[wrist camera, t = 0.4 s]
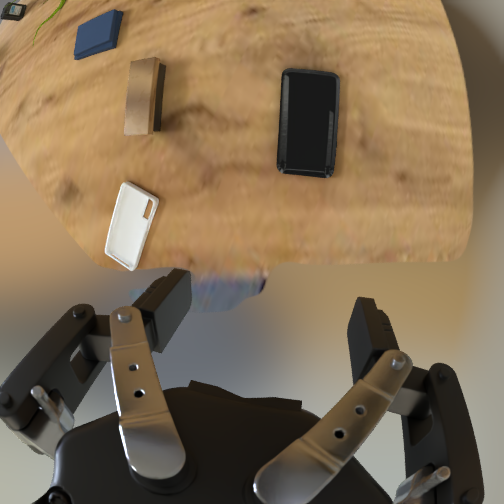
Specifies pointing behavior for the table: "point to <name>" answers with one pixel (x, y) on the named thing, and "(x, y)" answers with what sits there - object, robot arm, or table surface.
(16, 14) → the ink cartridge
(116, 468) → the robot arm
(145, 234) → the phone case
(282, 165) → the phone
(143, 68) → the tan two-tone block
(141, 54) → the table surface
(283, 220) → the table surface
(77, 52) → the folded cloth
